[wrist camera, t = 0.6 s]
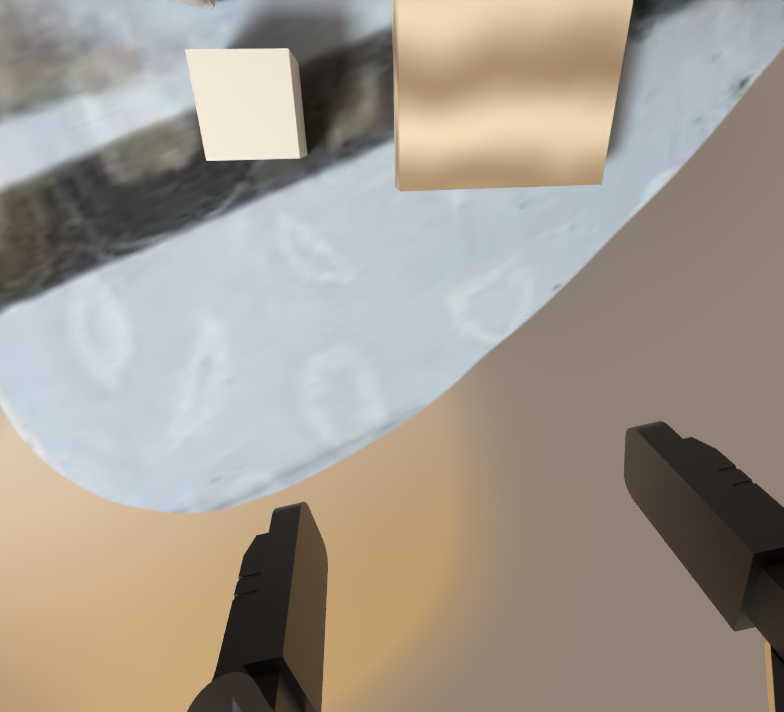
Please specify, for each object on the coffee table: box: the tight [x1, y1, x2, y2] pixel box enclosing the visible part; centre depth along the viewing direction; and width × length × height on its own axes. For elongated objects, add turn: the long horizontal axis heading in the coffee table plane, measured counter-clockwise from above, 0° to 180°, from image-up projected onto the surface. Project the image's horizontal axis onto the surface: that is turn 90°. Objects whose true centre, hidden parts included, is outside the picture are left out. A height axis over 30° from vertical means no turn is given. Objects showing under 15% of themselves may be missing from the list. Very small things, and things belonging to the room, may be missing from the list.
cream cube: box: [185, 48, 307, 161], centre depth 28 cm, size 6×6×6 cm
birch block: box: [392, 0, 633, 191], centre depth 29 cm, size 14×14×4 cm
